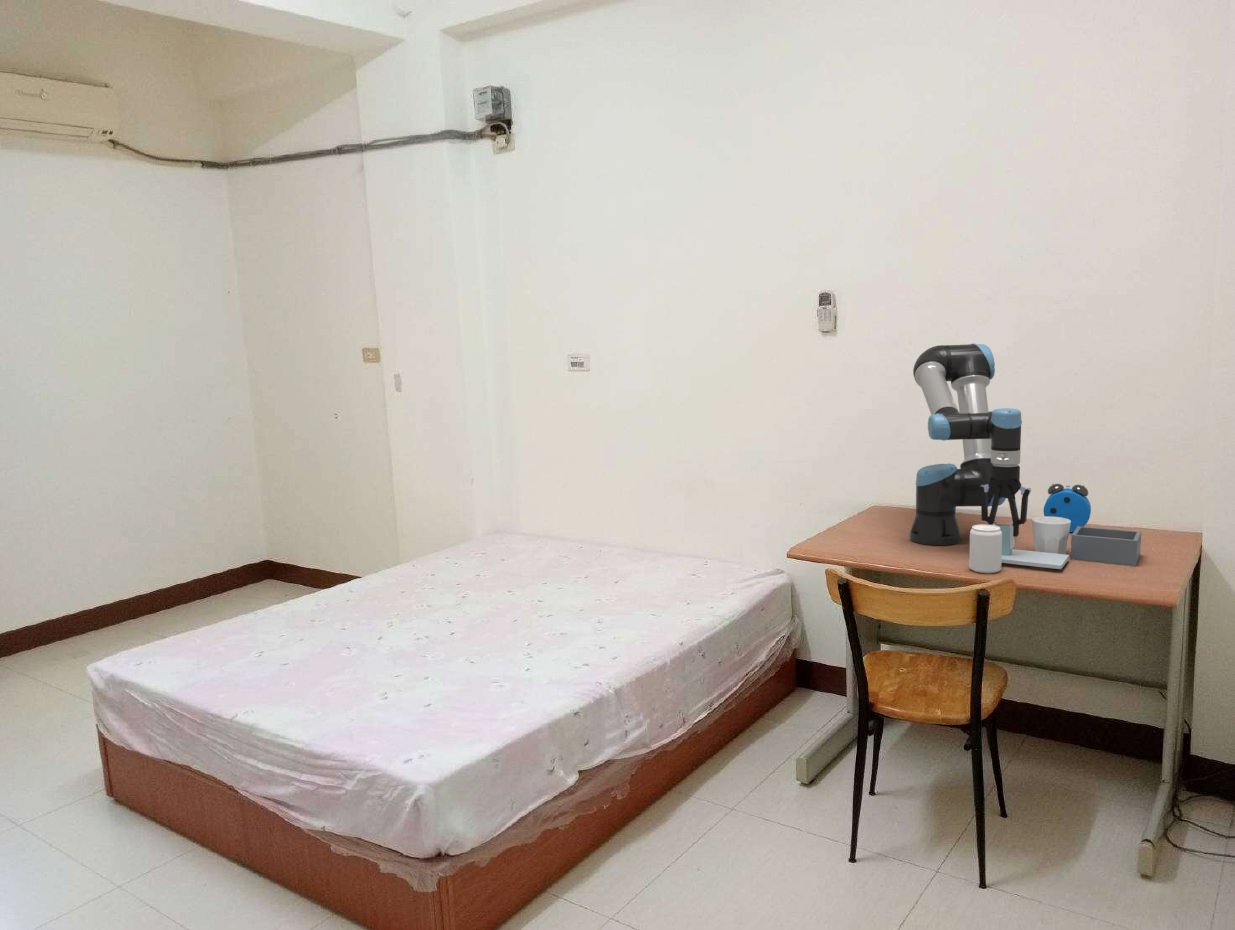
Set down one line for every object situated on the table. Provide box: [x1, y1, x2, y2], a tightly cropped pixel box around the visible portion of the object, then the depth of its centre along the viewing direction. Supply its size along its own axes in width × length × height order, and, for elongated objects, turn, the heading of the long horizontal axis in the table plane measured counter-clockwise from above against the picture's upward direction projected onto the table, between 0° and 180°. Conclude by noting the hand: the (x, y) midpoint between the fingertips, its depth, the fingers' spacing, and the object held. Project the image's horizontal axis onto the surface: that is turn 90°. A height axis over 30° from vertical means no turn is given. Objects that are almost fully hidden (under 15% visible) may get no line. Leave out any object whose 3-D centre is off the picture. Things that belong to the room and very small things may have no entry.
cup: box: [1031, 515, 1071, 555], centre depth 259 cm, size 10×10×10 cm
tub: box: [1070, 526, 1142, 567], centre depth 253 cm, size 16×12×7 cm
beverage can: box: [968, 523, 1002, 574], centre depth 246 cm, size 8×8×12 cm
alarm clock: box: [1043, 483, 1092, 533], centre depth 284 cm, size 13×6×15 cm, turn 61°
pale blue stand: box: [996, 523, 1070, 570], centre depth 250 cm, size 18×13×9 cm
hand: (1003, 546), depth 254 cm, fingers closed on pale blue stand, 4 cm apart
